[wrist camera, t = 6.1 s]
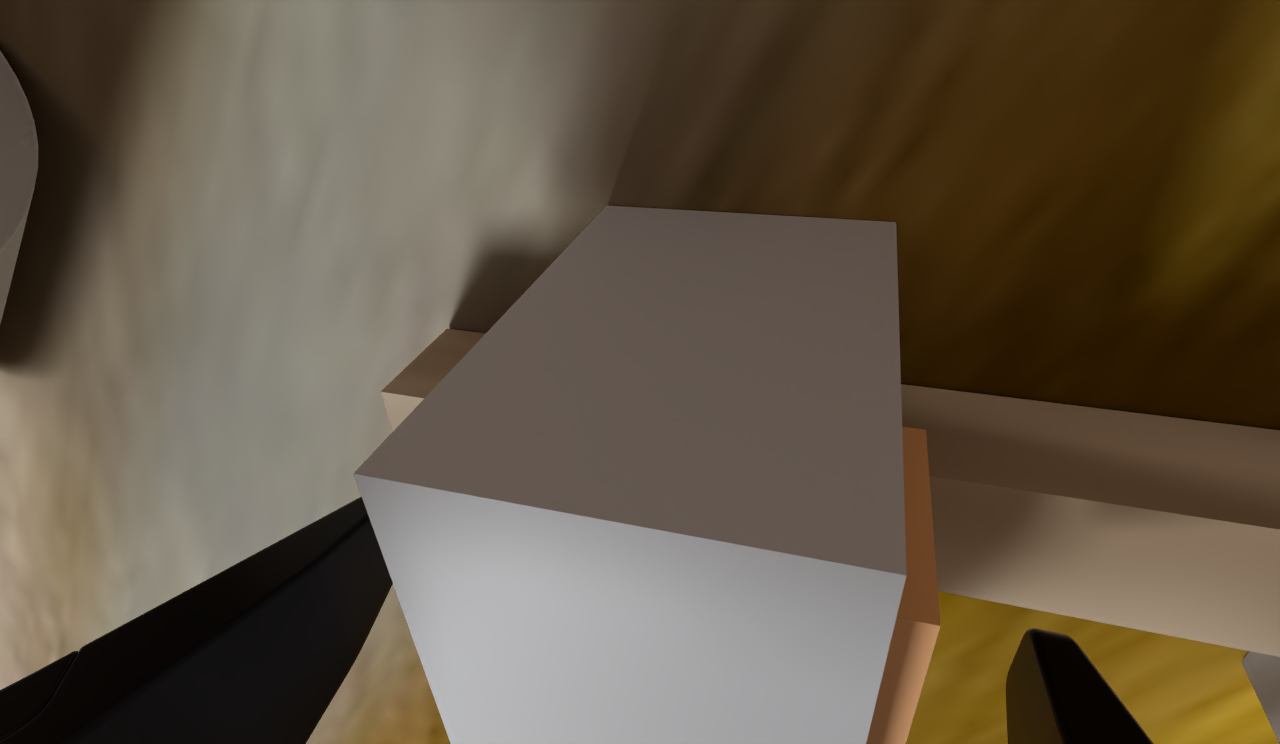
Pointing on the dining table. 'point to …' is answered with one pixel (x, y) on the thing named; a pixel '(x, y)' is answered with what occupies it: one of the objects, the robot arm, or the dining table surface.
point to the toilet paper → (14, 171)
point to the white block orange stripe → (673, 495)
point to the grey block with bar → (1077, 511)
